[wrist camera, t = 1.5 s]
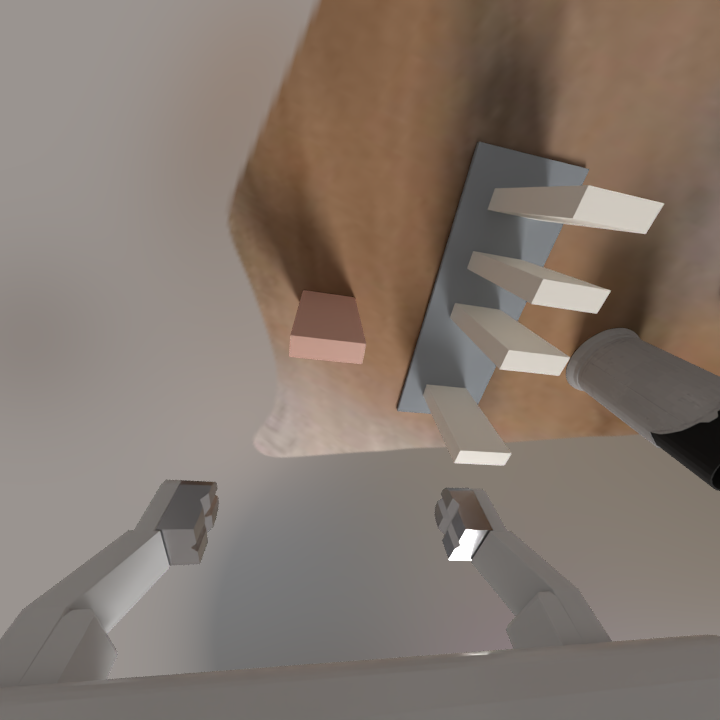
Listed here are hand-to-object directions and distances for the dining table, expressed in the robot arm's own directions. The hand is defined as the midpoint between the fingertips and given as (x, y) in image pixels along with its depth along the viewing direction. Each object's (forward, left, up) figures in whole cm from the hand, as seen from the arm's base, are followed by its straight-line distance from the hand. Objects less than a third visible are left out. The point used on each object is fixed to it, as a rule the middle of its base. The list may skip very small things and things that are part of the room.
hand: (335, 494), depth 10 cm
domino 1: (0, 0, -21) cm, 21 cm away
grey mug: (+4, +36, -21) cm, 41 cm away
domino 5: (+9, +15, -20) cm, 26 cm away
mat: (-1, +15, -21) cm, 25 cm away
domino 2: (-11, +15, -20) cm, 27 cm away
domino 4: (-1, +15, -20) cm, 25 cm away
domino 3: (-6, +15, -20) cm, 26 cm away
